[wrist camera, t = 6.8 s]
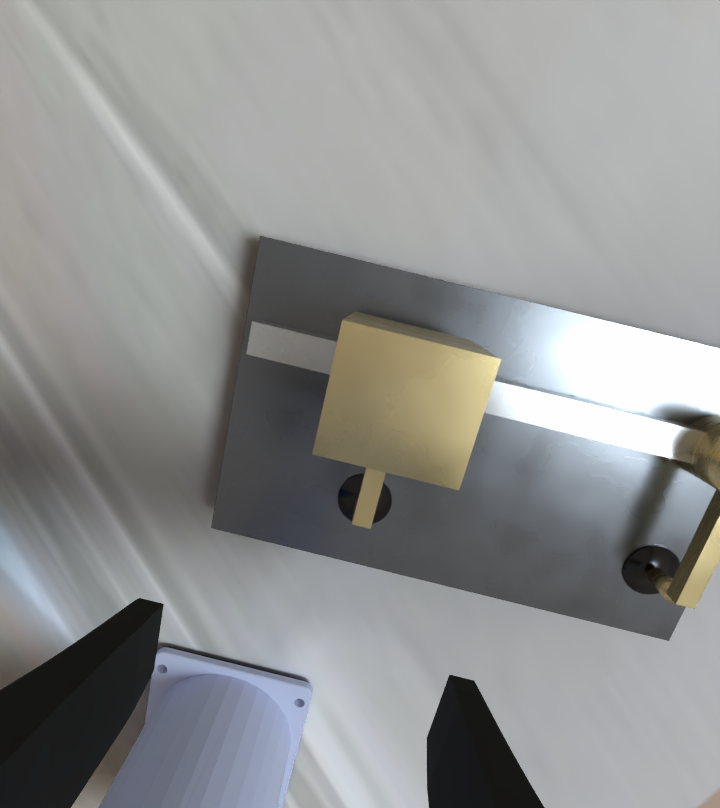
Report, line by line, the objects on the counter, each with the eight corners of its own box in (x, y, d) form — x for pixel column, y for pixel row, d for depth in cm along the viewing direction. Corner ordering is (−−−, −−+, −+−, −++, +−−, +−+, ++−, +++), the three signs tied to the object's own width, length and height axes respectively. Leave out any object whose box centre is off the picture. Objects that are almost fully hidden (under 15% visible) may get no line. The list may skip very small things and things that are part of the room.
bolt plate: (648, 615, 21) (709, 691, 17) (223, 510, 21) (185, 562, 17) (770, 362, 17) (878, 383, 14) (270, 240, 18) (237, 226, 14)
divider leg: (410, 523, 18) (418, 616, 13) (313, 499, 18) (283, 582, 13) (465, 336, 16) (501, 358, 11) (357, 310, 16) (342, 319, 11)
